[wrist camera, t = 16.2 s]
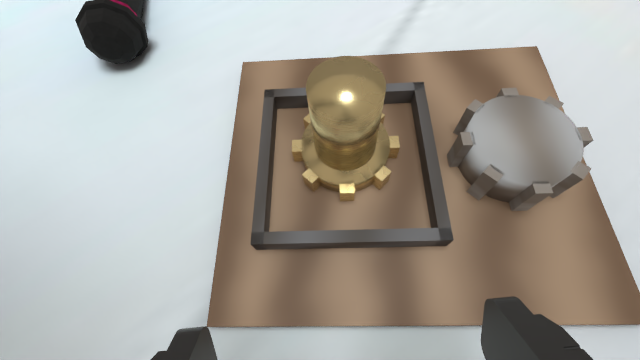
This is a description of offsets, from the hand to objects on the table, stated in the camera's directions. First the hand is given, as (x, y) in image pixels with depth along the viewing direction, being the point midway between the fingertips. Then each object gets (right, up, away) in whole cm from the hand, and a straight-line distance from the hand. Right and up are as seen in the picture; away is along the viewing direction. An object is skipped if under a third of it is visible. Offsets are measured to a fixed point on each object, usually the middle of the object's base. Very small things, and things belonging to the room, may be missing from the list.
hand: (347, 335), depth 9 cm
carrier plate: (+5, +5, +15) cm, 17 cm away
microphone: (-20, +23, +26) cm, 41 cm away
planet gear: (+1, +6, +15) cm, 16 cm away
